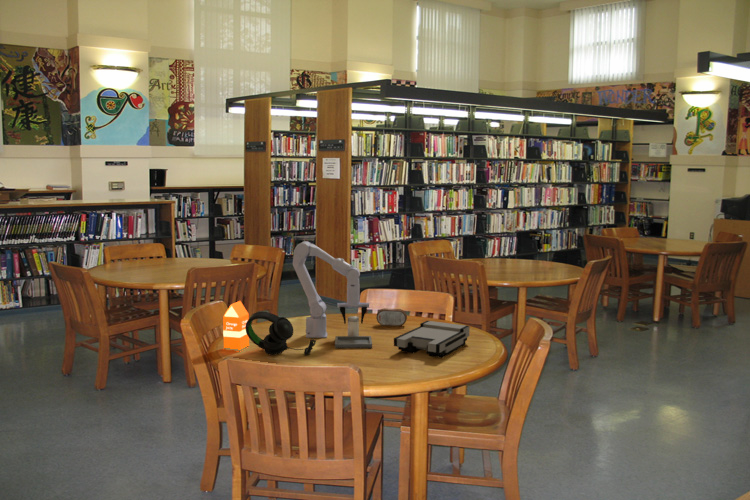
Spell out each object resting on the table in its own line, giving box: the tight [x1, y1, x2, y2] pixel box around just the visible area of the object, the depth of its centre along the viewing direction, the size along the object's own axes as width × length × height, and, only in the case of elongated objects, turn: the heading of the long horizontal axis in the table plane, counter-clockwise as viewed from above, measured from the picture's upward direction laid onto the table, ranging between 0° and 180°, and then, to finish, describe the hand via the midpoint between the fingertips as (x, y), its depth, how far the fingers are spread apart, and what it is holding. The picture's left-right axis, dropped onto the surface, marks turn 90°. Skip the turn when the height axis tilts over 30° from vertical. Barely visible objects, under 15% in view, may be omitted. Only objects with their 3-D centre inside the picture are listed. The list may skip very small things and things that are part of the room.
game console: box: [393, 320, 470, 359], centre depth 286 cm, size 21×32×8 cm, turn 150°
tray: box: [334, 335, 373, 349], centre depth 293 cm, size 16×14×2 cm
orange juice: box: [222, 300, 250, 350], centre depth 284 cm, size 8×9×20 cm
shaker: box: [347, 316, 360, 336], centre depth 305 cm, size 5×5×9 cm
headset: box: [245, 311, 317, 356], centre depth 277 cm, size 18×14×29 cm
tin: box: [375, 308, 408, 327], centre depth 328 cm, size 15×3×8 cm, turn 84°
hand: (353, 323), depth 305 cm, fingers open, 7 cm apart
